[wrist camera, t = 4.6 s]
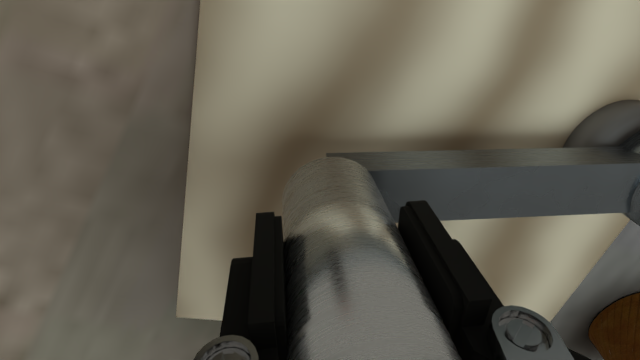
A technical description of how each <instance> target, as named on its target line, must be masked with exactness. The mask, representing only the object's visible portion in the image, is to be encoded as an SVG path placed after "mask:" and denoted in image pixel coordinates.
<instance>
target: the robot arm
mask: <svg viewBox="0 0 640 360" xmlns="http://www.w3.org/2000/svg"><path fill="white" fill-rule="evenodd" d="M398 230H399V232H400V234H401V236H402V238H403V240H404V242H405V244H406V246H407V248H408V251H409V253H410V255H411V257H412V259H413V261H414V263H415V265H416V267H417V269H418V271H419V273H420V275H421V277H422V279H423V281H424V283H425V285H426V287H427V289H428V291H429V294H430V296H431V298H432V300H433V302H434V304H435V306H436V308H437V310H438V312H439V314H440V316H441V318H442V320H443V322H444V324H445V326H446V328H447V330H448V332H449V334H450V336H451V339H452V341H453V343H454V345H455V347H456V349H457V351H458V353H459V355H460V357H461V359H462V360H591V359H589V358H587V357H585V356H582V355H580V354H578V353H576V352H574V351H572V350H570V349H568V348H567V347H566V345H565V344H564V342H563V340H562V339H561V337H560V335H559V334H558V332H557V331H556V329H555V328H554V327H553V326H552V324H551V323H550V322H549V321H547V320H546V319H545V318H544V317H543V316H541V315H540V314H538V313H536V312H534V311H532V310H530V309H527V308H524V307H520V306H513V305H510V306H504V305H503V304H502V302H501V301H500V300H499V298H498V297H497V295H496V294H495V292H494V291H493V289H492V288H491V287H490V285H489V284H488V282H487V281H486V279H485V278H484V277H483V275H482V274H481V272H480V271H479V269H478V268H477V266H476V265H475V264H474V262H473V261H472V259H471V258H470V256H469V255H468V253H467V252H466V251H465V249H464V248H463V246H462V245H461V243H460V242H459V241H458V240H456V239H452V238H451V237H450V235H449V234H448V232H447V231H446V229H445V228H444V226H443V225H442V223H441V222H440V220H439V219H438V217H437V216H436V214H435V213H434V211H433V210H432V208H431V207H430V205H429V204H428V202H427V201H425V200H420V201H408V202H406V205H405V206H402V207H401V208H400V213H399V222H398ZM287 352H288V350H287V322H286V294H285V265H284V240H283V228H282V217H281V216H275V214H274V212H263V213H256V220H255V233H254V246H253V257H243V258H233V259H232V260H231V265H230V272H229V279H228V285H227V292H226V299H225V305H224V312H223V319H222V325H221V332H220V337H219V338H216V339H214V340H212V341H211V342H209V343H208V344H206V345H205V346H204V347H203V348H202V349H201V350H200V351H199V352H198V353H197V355H196V357H195V358H194V360H287Z"/></svg>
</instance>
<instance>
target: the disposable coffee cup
mask: <svg viewBox="0 0 640 360" xmlns="http://www.w3.org/2000/svg"><path fill="white" fill-rule="evenodd" d="M588 335H589V339H590V340H591V341H592V343H593V344H594V346H595V347H596V348H597V350H598V351H599V353H600V354H601V356H602V357H603V358H604V360H640V293H637V294H633V295H630V296H627V297H625V298H623V299H620V300H618V301H616V302H615V303H613V304H612V305H610V306H609V307H607V308H606V309H604V310H603V311H602V312H601V313H600V314H599V315H598V316H597V317H596V318H595V319H594V321H593V322H592V324H591V326H590V328H589V334H588Z"/></svg>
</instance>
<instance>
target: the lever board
mask: <svg viewBox="0 0 640 360" xmlns="http://www.w3.org/2000/svg"><path fill="white" fill-rule="evenodd" d="M638 131H640V0H200V13H199V26H198V39H197V52H196V65H195V77H194V90H193V103H192V116H191V129H190V142H189V155H188V168H187V181H186V194H185V206H184V219H183V232H182V245H181V258H180V271H179V284H178V297H177V310H176V317H180V318H193V319H207V320H221V321H222V319H223V312H224V305H225V299H226V292H227V285H228V279H229V272H230V265H231V260H232V259H233V258H243V257H253V246H254V233H255V220H256V213H263V212H274V214H275V216H281V217H282V228H283V213H282V196H283V191H284V188H285V185H286V184H287V182H288V180H289V179H290V177H291V176H292V175H293V174H294V173H295V172H296V171H297V170H298V169H299V168H300V167H302V166H304V165H305V164H307V163H309V162H311V161H313V160H316V159H320V158H325V157H326V153H351V152H396V151H441V150H486V149H531V148H576V147H618V146H619V145H620V144H621V143H622V142H624V141H625V140H626V139H627V138H629V137H630V136H632V135H633V134H635V133H637V132H638ZM629 221H630V219H629V218H627V217H626V216H625V215H623V214H622V213H606V214H584V215H561V216H538V217H516V218H493V219H470V220H447V221H440V222H441V223H442V225H443V226H444V228H445V229H446V231H447V232H448V234H449V235H450V237H451V238H452V239H456V240H458V241H459V242H460V243H461V245H462V246H463V248H464V249H465V251H466V252H467V253H468V255H469V256H470V258H471V259H472V261H473V262H474V264H475V265H476V266H477V268H478V269H479V271H480V272H481V274H482V275H483V277H484V278H485V279H486V281H487V282H488V284H489V285H490V287H491V288H492V289H493V291H494V292H495V294H496V295H497V297H498V298H499V300H500V301H501V302H502V304H503V305H504V306H510V305H513V306H520V307H524V308H527V309H530V310H532V311H534V312H536V313H538V314H540V315H541V316H543V317H544V318H545V319H546V320H547V321H549V322H550V321H551V320H552V319H553V318H554V316H555V315H556V314H557V313H558V311H559V310H560V309H561V307H562V306H563V305H564V304H565V302H566V301H567V300H568V298H569V297H570V296H571V295H572V293H573V292H574V291H575V290H576V288H577V287H578V286H579V284H580V283H581V282H582V281H583V279H584V278H585V277H586V275H587V274H588V273H589V272H590V270H591V269H592V268H593V267H594V265H595V264H596V263H597V261H598V260H599V259H600V258H601V256H602V255H603V254H604V252H605V251H606V250H607V249H608V247H609V246H610V245H611V244H612V242H613V241H614V240H615V238H616V237H617V236H618V235H619V233H620V232H621V231H622V229H623V228H624V227H625V226H626V224H627V223H628V222H629ZM395 224H396V226H397V228H398V223H395Z"/></svg>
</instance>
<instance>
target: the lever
mask: <svg viewBox="0 0 640 360" xmlns="http://www.w3.org/2000/svg"><path fill="white" fill-rule="evenodd" d="M420 200H425V201H427V202H428V204H429V205H430V207H431V208H432V210H433V211H434V213H435V214H436V216H437V217H438V219H439V220H440V221H447V220H470V219H493V218H516V217H538V216H561V215H584V214H606V213H622V214H623V215H625V216H626V217H627V218H629V219H630V220H632V221H633V222H635V223H636V224H638V225H639V226H640V131H638V132H637V133H635V134H633V135H632V136H630V137H629V138H627V139H626V140H625V141H624V142H622V143H621V144H620V145H619V146H618V147H576V148H531V149H486V150H441V151H396V152H351V153H326V157H325V158H320V159H316V160H313V161H311V162H309V163H307V164H305V165H304V166H302V167H300V168H299V169H298V170H297V171H296V172H295V173H294V174H293V175H292V176H291V177H290V179H289V180H288V182H287V184H286V185H285V188H284V191H283V196H282V213H283V240H284V265H285V294H286V322H287V350H288V352H287V360H462V359H461V357H460V355H459V353H458V351H457V349H456V347H455V345H454V343H453V341H452V339H451V336H450V334H449V332H448V330H447V328H446V326H445V324H444V322H443V320H442V318H441V316H440V314H439V312H438V310H437V308H436V306H435V304H434V302H433V300H432V298H431V296H430V294H429V291H428V289H427V287H426V285H425V283H424V281H423V279H422V277H421V275H420V273H419V271H418V269H417V267H416V265H415V263H414V261H413V259H412V257H411V255H410V253H409V251H408V248H407V246H406V244H405V242H404V240H403V238H402V236H401V234H400V232H399V230H398V228H397V226H396V224H395V223H398V222H399V213H400V208H401V207H402V206H405V205H406V202H408V201H420Z"/></svg>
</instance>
